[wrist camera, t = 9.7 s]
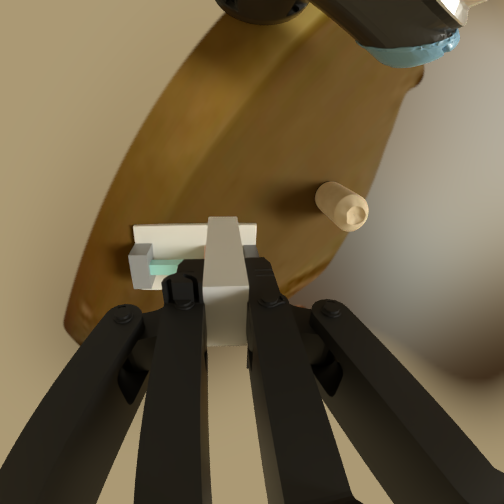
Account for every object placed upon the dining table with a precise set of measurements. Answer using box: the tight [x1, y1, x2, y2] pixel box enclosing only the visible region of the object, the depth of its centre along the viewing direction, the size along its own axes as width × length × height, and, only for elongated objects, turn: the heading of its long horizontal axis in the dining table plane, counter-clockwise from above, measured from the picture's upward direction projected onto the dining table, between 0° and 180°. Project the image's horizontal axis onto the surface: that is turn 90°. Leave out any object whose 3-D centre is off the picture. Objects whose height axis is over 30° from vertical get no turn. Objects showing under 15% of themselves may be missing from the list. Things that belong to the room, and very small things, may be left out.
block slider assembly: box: [128, 223, 259, 290], centre depth 45 cm, size 12×20×6 cm, turn 87°
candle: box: [315, 182, 368, 231], centre depth 41 cm, size 6×6×10 cm
